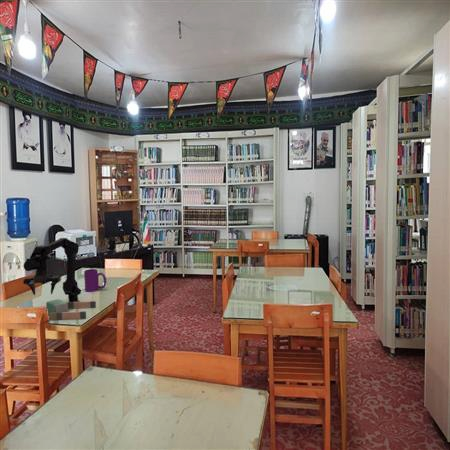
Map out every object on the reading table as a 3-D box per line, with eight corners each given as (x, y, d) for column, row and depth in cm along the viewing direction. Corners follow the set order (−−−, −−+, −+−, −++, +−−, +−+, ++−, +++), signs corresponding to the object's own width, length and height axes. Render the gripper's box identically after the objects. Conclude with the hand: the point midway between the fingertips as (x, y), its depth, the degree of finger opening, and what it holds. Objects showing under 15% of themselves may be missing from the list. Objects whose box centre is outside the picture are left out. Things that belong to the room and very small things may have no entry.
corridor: (56, 308, 219) (55, 302, 219) (95, 307, 221) (95, 301, 220) (42, 320, 199) (41, 313, 199) (85, 318, 201) (85, 312, 201)
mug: (88, 288, 264) (87, 269, 263) (108, 288, 264) (107, 268, 263) (83, 292, 255) (82, 271, 254) (104, 292, 255) (103, 271, 254)
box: (59, 310, 217) (58, 298, 216) (69, 315, 208) (68, 302, 207) (46, 313, 212) (45, 301, 211) (56, 318, 203) (55, 306, 202)
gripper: (19, 271, 194) (20, 299, 195) (55, 269, 197) (56, 297, 198) (26, 267, 205) (27, 294, 206) (60, 266, 208) (61, 292, 209)
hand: (43, 294), depth 204 cm, fingers open, 9 cm apart
